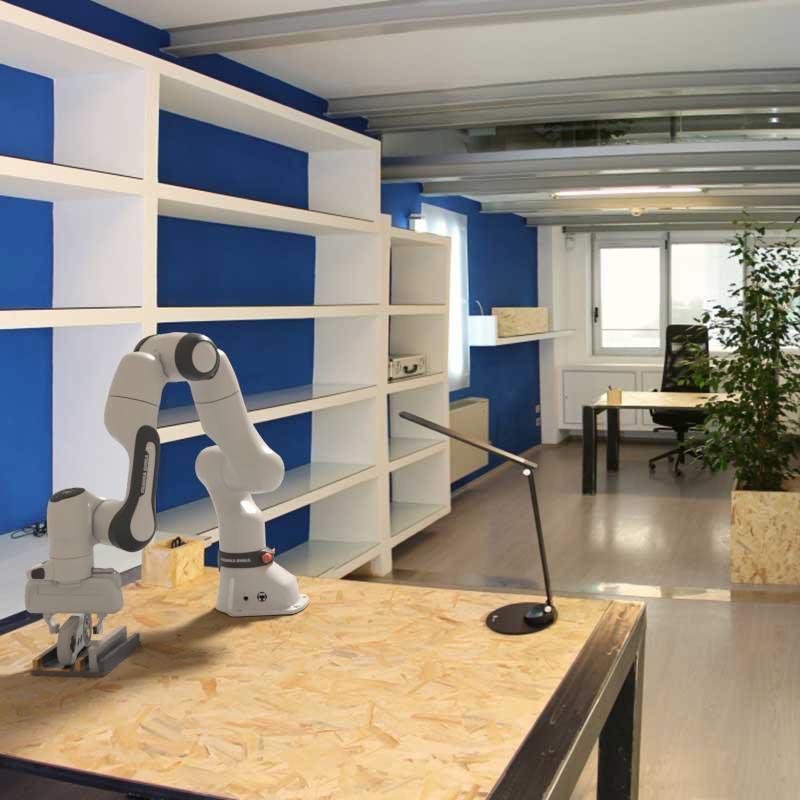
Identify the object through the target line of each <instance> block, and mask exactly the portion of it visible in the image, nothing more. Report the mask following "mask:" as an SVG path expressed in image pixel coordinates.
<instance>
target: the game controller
mask: <svg viewBox="0 0 800 800" xmlns="http://www.w3.org/2000/svg"><path fill="white" fill-rule="evenodd" d="M92 627H93V618H92V614H77V613H72V614H71V615H70V616H69V618H68V619H66V621H65V622H64V623H63V624H62V625H60V627H59V628H60V630H59V633H58V635H57V642H56V643H57V655H58V660H59V663H60V664H61V665H73V664H74V662H75V660H76V657H77V654H78V653H79V651H80V650H81V649H82V648H83V647H87V646H88V645H89V644H90V641H91V640H92V635H93V628H92Z"/></svg>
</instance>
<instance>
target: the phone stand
mask: <svg viewBox="0 0 800 800" xmlns="http://www.w3.org/2000/svg"><path fill="white" fill-rule="evenodd" d="M127 628H128V626H127V625H118V626H117V627H115V628H114V629H113V630H111V631H110V632H108V633H107V634H106V635H105V636H104V637H102V638H101V639H98V640H97V639H96V640H95V639H94V640H93V639H91V641H90V644H89V645H88V646H87V647H83V648H82V649H81V650H80V651H79V653H78V654H77V657H76V660H75V662H74V664H73V665H61V664H60V663H59V660H58V655H57V642H56V643H55V644H53V645H52V646H50V647H49V648H48V649H46V650H45V651H43V652H41V653H40V654H39V655H37V656H36V657H34V658H33V659H32V670H31V676H32V675H44V676H43V677H76V676H82V677H83V678H85V677H86V678H104V677H106V676H107V675H108V674H109V673H110V672H112V671H113V670H114V669H115V668H116V667H118V666H119V665H120V664H121V663H122V662H124V661H125V660H126V659H127V658H128V657H130V656H131V655H132V654H133V653H134V652H135V651H136V649H137V648H138V649H139V648H140V647H141V646H142V641H141V637H140V636H141V634H140V632H134V633H132V635H131V636H128V631H127ZM138 649H137V650H138ZM132 652H133V653H132ZM131 653H132V654H131ZM130 654H131V655H130ZM125 658H126V659H125ZM124 659H125V660H124ZM119 663H120V664H119ZM118 664H119V665H118ZM49 675H50V676H49ZM57 675H58V676H57ZM82 677H81V678H82Z"/></svg>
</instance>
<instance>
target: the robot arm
mask: <svg viewBox="0 0 800 800" xmlns="http://www.w3.org/2000/svg"><path fill="white" fill-rule="evenodd" d="M179 382H187V383H188V385H189V387H190V388H189V389H190V392H191V395H192V399H193V402H194V403H193V404H194V406H195V409H196V412H197V416H198V419H199V421H200V425H201V428H202V431H203V432H204V434H205V435H206V436H207V437H208V438H209V439H211V441H213V442H214V443H215V445H212V446H207V447H205V448H204V449H202V450H200V452H199V454H198V455H197V457H196V459H195V464H194V471H195V474H196V477H197V479H198V480H199V481H200V482H201V483H202V484H203V485H204V487H205V488H206V490H207V492H208V494H209V497H210V499H211V502H212V504H213V507H214V510H215V515H216V518H217V519H216V520H217V529H218V544H219V546H218V547H219V548H218V549H217V568H218V572H219V579H218V580H219V583H218V591H217V597H216V601H215V606H214V607H215V610H217V611H219V612H222V613H225V614H227V616H230V617H253V616H255V617H256V616H272V615H275V616H276V615H278V616H279V615H291V614H292V615H293V614H296V613H300V611H303V610H305V608H307V606H308V605H309V603H310V598H309V596H308V595H307V594H304V593H300V588H299V584H298V581H297V580H298V579H297V577H296V576H295V575H294V574H293V573H290V571H288V570H287V569H285V568H283V567H282V566H281V565H279V564H278V563H277V562H275V553H276V552H275V551H276V549H275V548H273V549H271V548H269V547H268V546H267V545H266V526H265V525H266V524H265V515H264V514H263V510H261V509H260V508H259V507H258V505H256V502H255V501H254V499H253V497H252V494H253V495H258V494H260V495H261V494H265V493H271V492H274V491H276V490H277V489H278V488H279V487H280V486H281V484H282V482H283V480H284V476H285V464H284V461H283V459H282V457H281V455H279V454H278V453H276V452H275V451H274V450H273V449H272V448H270V446H268V445H267V443H266V442H265V441H264V440H263V438H262V436H261V435H260V434H259V432H258V431H257V429H256V427H255V426H254V423H253V422H252V420H251V418H250V415H249V412H248V410H247V407H246V404H245V402H244V397H243V394H242V391H241V388H240V384H239V381H238V378H237V375H236V373H235V369H234V368H233V366H232V364H231V362H230V360H229V358H228V356H227V355H226V353H225V352H224V351H223V350H221V349H220V348H218V347H217V346H216V344H215V343H214V341H213V340H212V338H210V337H208V336H206V335H205V334H201V333H197V332H190V333H189V332H181V331H180V332H179V331H178V332H177V331H176V332H175V331H173V332H169V333H162V334H158V333H157V334H151V335H148V336H146V337H144V338H142V339H141V340H140V341H138V343H137V344H136V346H135V347H134V349H133V351H132V352H129V353H126V354H125V355H123V357H121V358H120V361H119V364H118V365H117V368H116V370H115V373H114V375H113V378H112V380H111V384H110V387H109V391H108V394H107V399H106V402H105V406H104V407H105V408H104V413H103V414H104V415H103V422H104V423H103V424H104V426H105V429H106V431H107V432H108V433H109V435H110V436H111V437H112V438H113V439H114V440H115V441H116V442H118V444H120V446H122V447H123V448H124V449H125V451H126V452H127V453H126V454H127V456H128V460H129V462H128V463H129V465H128V473H127V474H128V475H127V481H126V482H127V483H126V490H125V491H126V492H125V497H124V499H123V500H118V499H113V498H107V497H103V496H99V495H96V494H93V493H91V492H90V491H88V490H86V488H84V487H78V486H77V487H70V488H64V489H61V490H59V491H57V492H55V493H54V494H53V495H51V496H50V498H49V500H48V503H47V508H46V528H47V529H46V530H47V531H46V532H47V533H46V534H47V538H48V540H49V545H50V547H49V552H48V560H45V561H42V562H40V563H37V564H36V565H34V566H32V567H30V568H29V569H28V570H26V578H27V580H28V581H27V582H26V584H25V587H24V606H25V609H26V611H27V612H28V613H30V614H42V616H43V617H42V618H43V619H44V621H45V623H46V624H47V626H48V627H49V629H48V630H49V634H51V635H57V634H59V630H60V628H61V624H60V622H59V623H58V622H56V621H55V619H54V615H55V614H74V613H77V614H91V615H93V614H94V615H95V614H96V618H97V619H98V622H97V623H95V624H94V625H92V635H102V634H103V633H104V626H103V625H104V623H105V621H106V620H107V618H108V615H110V614H111V615H115V614H117V613H118V612H119V611H121V610H122V609H123V607H124V605H125V602H124V595H123V590H122V576H121V573H120V572H119V571H117V570H116V569H115V568H114V567H107V568H103V567H95V565H96V564H95V553H94V552H95V550H94V547H95V545H98V544H100V545H102V546H103V545H104V546H108V547H113V548H117V549H119V550H121V551H125V552H127V553H137V552H139V551H142V550H143V549H145V548H146V547H147V546H148V545H149V544H150V543H151V542H152V540H153V539H154V536H155V534H156V531H157V525H158V523H157V519H158V518H157V511H156V510H157V509H156V498H157V497H156V496H157V487H158V478H159V469H160V459H161V438H160V437H161V436H160V434H159V432H158V416H159V409H160V406H161V400H162V394H163V393H162V392H163V389H164V387H165V386H166V384H167V383H179Z"/></svg>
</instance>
